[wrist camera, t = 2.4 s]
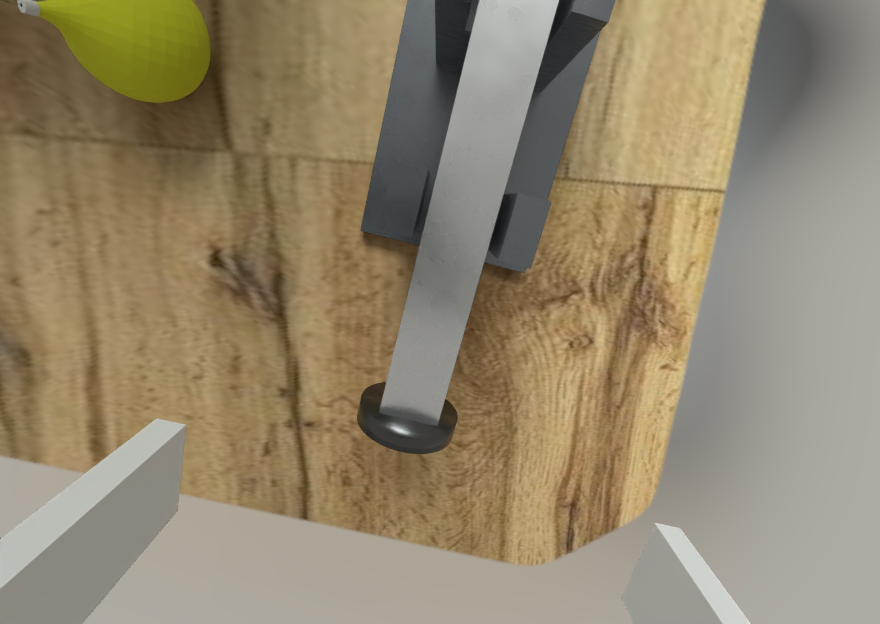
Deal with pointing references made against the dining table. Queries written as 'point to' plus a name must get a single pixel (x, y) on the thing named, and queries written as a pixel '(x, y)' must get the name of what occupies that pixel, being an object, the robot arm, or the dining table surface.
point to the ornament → (133, 43)
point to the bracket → (429, 111)
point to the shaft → (459, 225)
